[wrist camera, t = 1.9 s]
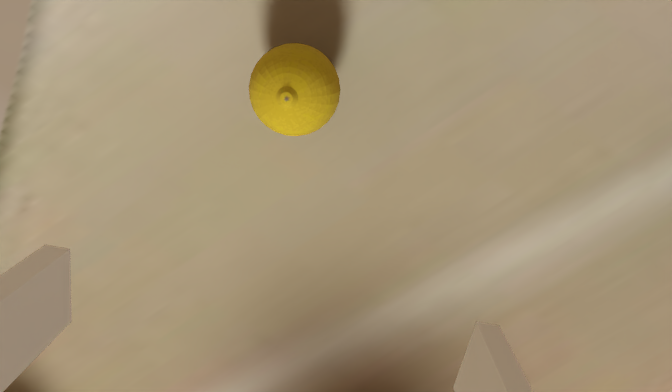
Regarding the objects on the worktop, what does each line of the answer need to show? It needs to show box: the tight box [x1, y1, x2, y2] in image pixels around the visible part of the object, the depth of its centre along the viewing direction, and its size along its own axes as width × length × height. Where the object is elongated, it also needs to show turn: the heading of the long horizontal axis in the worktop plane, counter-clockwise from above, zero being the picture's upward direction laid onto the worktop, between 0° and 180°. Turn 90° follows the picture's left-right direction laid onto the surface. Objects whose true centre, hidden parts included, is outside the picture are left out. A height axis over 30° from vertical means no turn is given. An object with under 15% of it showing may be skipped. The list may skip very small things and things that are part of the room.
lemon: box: [249, 43, 340, 136], centre depth 27 cm, size 6×6×8 cm
